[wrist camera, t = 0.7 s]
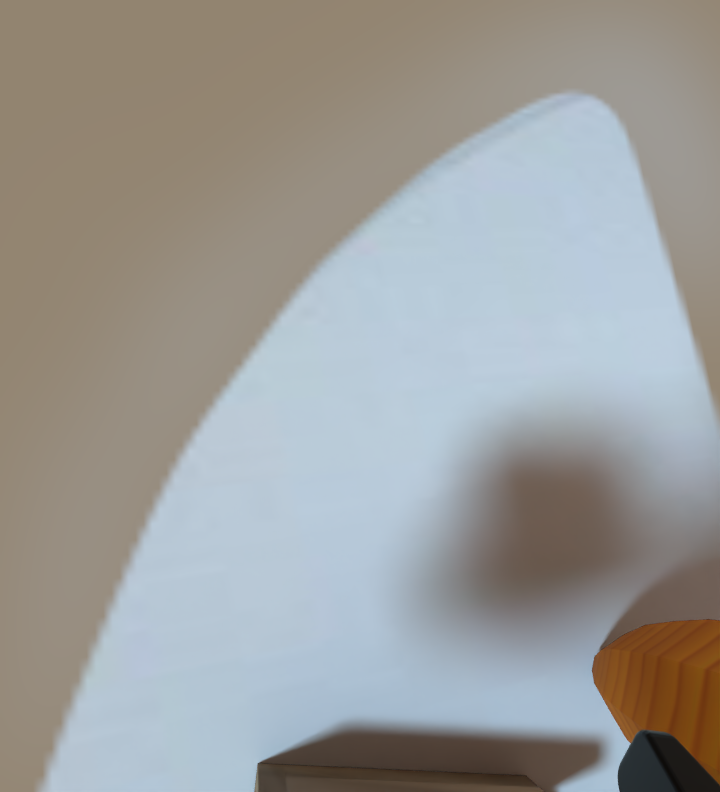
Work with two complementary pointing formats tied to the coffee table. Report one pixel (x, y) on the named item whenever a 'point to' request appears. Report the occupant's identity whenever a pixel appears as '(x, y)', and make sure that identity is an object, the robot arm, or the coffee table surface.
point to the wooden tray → (382, 780)
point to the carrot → (666, 684)
